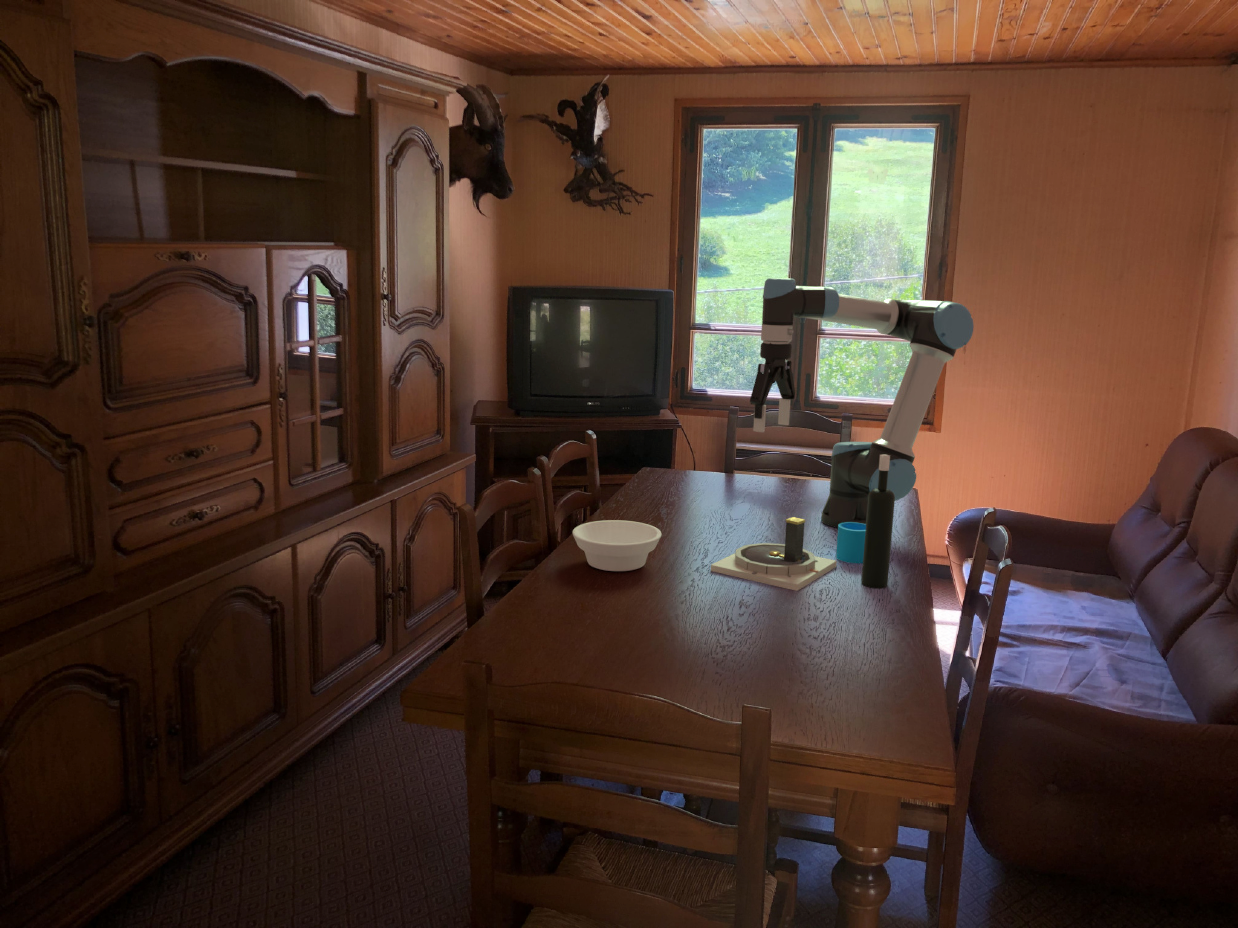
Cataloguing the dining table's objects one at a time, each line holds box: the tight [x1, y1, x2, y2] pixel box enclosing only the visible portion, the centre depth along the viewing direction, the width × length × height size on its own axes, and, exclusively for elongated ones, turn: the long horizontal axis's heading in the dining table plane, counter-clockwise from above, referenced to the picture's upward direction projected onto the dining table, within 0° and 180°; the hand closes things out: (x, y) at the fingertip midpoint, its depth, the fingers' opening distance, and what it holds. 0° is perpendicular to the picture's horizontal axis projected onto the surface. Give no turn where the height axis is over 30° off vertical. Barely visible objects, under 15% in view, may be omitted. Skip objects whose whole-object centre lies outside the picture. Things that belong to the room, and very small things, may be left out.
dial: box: [745, 516, 806, 566], centre depth 226 cm, size 14×14×11 cm
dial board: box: [710, 542, 837, 592], centre depth 227 cm, size 22×22×4 cm
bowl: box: [572, 519, 663, 572], centre depth 227 cm, size 21×21×8 cm
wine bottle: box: [860, 454, 896, 589], centre depth 215 cm, size 6×6×30 cm
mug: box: [835, 522, 866, 564], centre depth 238 cm, size 12×8×8 cm
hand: (771, 428), depth 239 cm, fingers open, 13 cm apart
